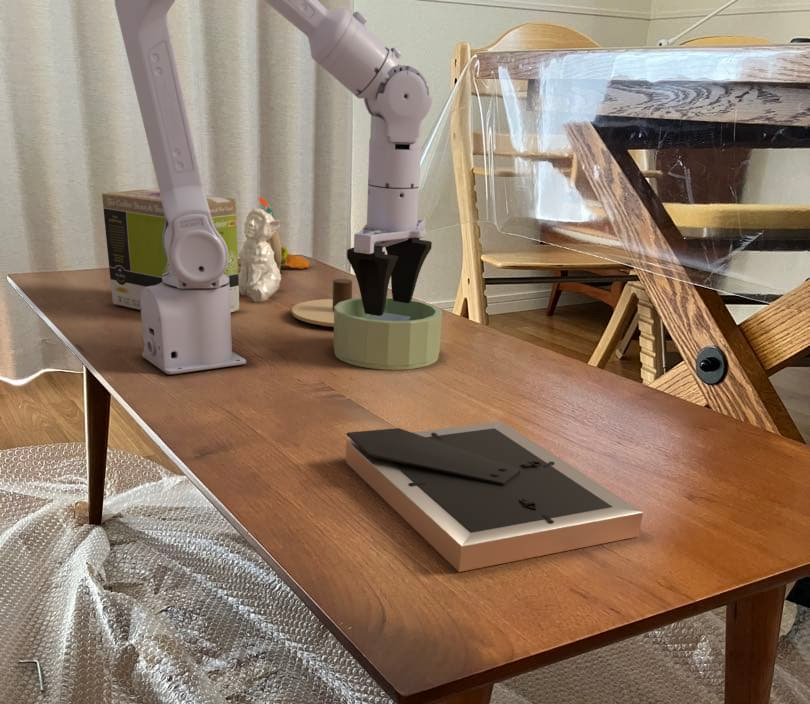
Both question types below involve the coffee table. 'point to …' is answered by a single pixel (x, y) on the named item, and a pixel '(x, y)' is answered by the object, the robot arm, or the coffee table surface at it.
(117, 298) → the tea box
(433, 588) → the coffee table surface
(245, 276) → the seated beast figurine
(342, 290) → the lid
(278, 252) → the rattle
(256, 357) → the coffee table surface
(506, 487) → the picture frame
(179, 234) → the robot arm
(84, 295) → the coffee table surface
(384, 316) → the block
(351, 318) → the green faceted round bowl
